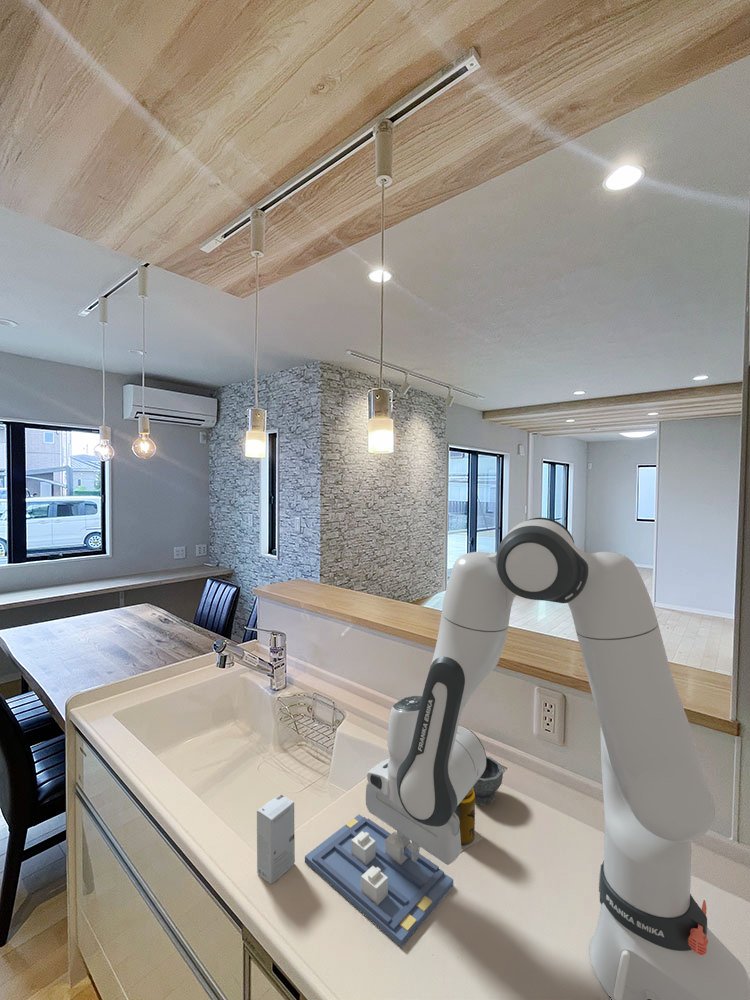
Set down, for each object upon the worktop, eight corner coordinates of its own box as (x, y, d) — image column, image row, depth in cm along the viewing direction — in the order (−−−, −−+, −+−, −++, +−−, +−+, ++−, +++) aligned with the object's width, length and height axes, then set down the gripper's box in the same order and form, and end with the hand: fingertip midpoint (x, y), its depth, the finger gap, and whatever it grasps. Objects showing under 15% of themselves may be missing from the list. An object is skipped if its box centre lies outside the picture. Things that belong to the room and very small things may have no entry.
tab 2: (387, 894, 80) (387, 872, 80) (376, 906, 78) (376, 884, 77) (372, 882, 82) (372, 861, 82) (361, 893, 80) (361, 871, 80)
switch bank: (453, 885, 83) (453, 875, 83) (401, 947, 72) (401, 935, 72) (359, 819, 99) (359, 810, 99) (304, 862, 88) (304, 852, 88)
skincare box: (271, 885, 83) (271, 821, 82) (255, 873, 86) (255, 810, 85) (296, 862, 88) (296, 801, 88) (280, 851, 91) (279, 792, 90)
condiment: (483, 838, 94) (484, 782, 94) (453, 857, 90) (453, 797, 89) (458, 816, 100) (459, 763, 100) (429, 833, 96) (429, 777, 95)
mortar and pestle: (504, 788, 110) (505, 739, 109) (500, 814, 101) (500, 761, 100) (457, 776, 114) (458, 729, 113) (449, 801, 105) (450, 750, 104)
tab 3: (409, 856, 88) (409, 836, 88) (399, 866, 86) (399, 845, 86) (395, 846, 90) (395, 826, 90) (385, 855, 88) (385, 835, 88)
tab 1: (375, 856, 88) (375, 836, 88) (364, 866, 86) (364, 846, 85) (362, 846, 90) (362, 827, 90) (351, 855, 88) (351, 835, 88)
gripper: (468, 802, 80) (467, 878, 81) (381, 755, 94) (381, 819, 95) (448, 822, 76) (447, 902, 76) (360, 769, 90) (360, 837, 90)
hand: (410, 856), depth 86 cm, fingers closed
